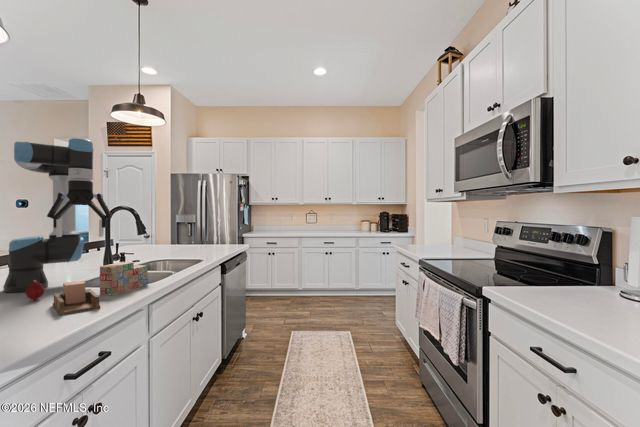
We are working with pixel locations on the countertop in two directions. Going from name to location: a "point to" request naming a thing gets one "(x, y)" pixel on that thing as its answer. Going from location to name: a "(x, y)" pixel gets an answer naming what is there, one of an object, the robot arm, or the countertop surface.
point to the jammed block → (74, 292)
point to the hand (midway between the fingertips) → (80, 236)
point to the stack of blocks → (122, 277)
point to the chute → (89, 303)
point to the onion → (34, 290)
